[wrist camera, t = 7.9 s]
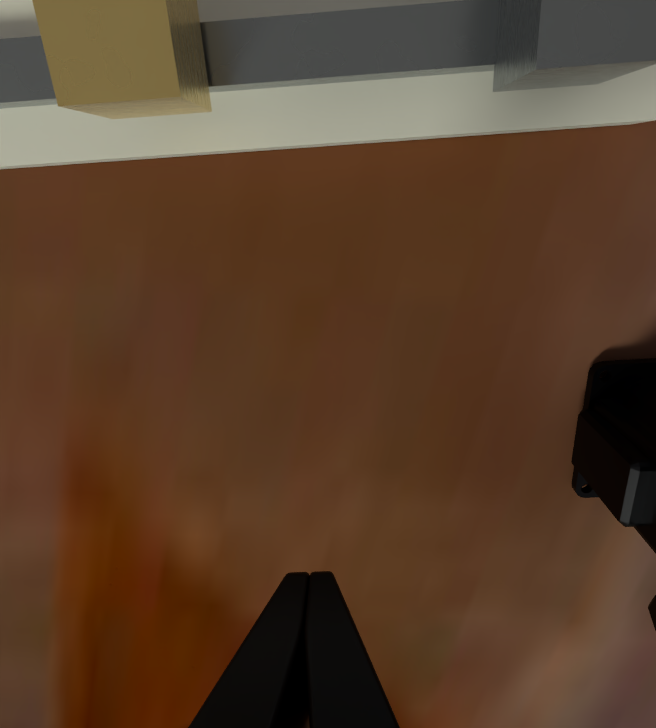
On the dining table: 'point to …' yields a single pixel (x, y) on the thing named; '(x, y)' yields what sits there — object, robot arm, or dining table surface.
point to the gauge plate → (310, 106)
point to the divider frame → (399, 46)
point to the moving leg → (125, 56)
